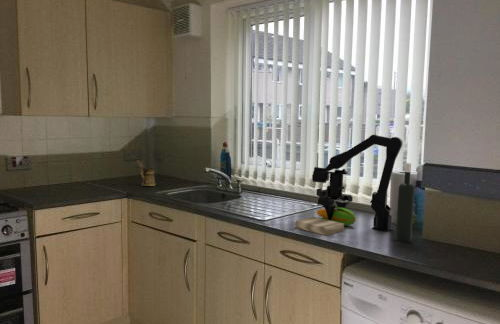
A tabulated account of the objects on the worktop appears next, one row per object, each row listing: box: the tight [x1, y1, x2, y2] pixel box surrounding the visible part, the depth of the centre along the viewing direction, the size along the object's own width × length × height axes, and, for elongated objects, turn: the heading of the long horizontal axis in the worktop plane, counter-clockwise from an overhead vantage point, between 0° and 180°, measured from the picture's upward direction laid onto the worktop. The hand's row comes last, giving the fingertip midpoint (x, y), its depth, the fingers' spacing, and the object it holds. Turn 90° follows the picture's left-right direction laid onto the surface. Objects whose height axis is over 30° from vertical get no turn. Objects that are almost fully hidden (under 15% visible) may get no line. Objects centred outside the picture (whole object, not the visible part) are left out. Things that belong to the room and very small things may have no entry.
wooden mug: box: [136, 159, 157, 187], centre depth 283 cm, size 9×14×18 cm, turn 141°
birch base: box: [294, 216, 345, 236], centre depth 184 cm, size 16×12×3 cm
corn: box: [316, 206, 356, 227], centre depth 194 cm, size 7×8×20 cm
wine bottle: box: [395, 162, 415, 243], centre depth 169 cm, size 6×6×30 cm
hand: (334, 218), depth 194 cm, fingers closed on corn, 7 cm apart
